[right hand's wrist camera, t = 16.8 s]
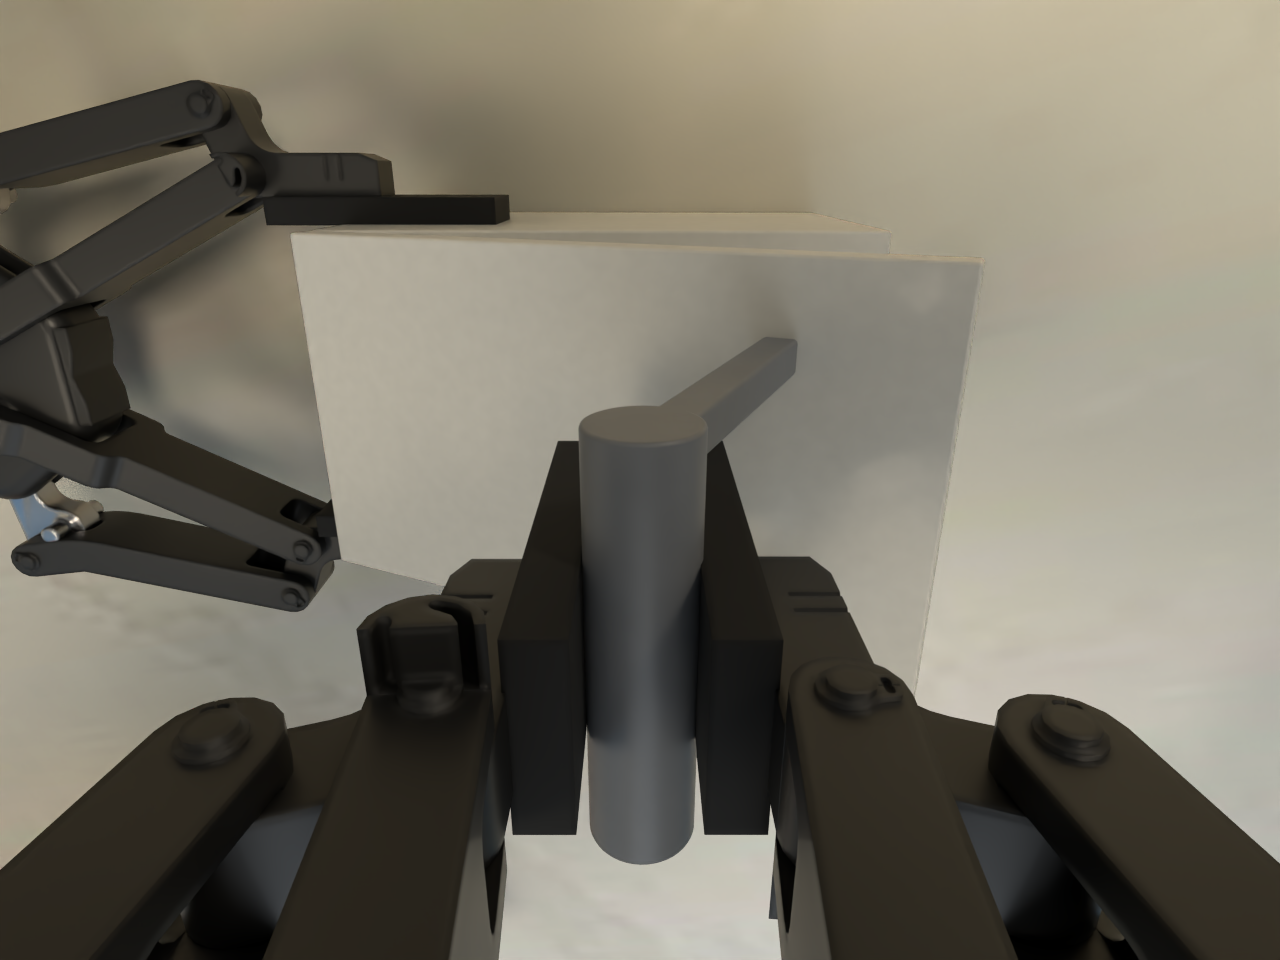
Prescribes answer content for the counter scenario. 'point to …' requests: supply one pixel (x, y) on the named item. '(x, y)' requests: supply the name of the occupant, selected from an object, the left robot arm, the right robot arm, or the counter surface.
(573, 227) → the chest
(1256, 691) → the counter surface
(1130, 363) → the counter surface
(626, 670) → the lid
